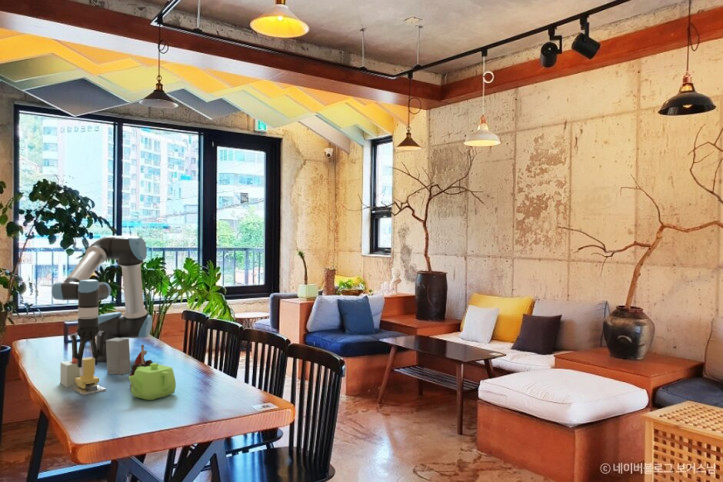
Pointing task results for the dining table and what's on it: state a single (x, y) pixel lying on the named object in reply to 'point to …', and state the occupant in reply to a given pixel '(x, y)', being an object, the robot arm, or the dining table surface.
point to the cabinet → (69, 373)
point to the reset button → (74, 360)
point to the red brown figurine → (140, 361)
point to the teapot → (152, 381)
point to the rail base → (87, 389)
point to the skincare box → (118, 356)
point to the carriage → (87, 374)
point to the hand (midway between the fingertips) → (87, 374)
